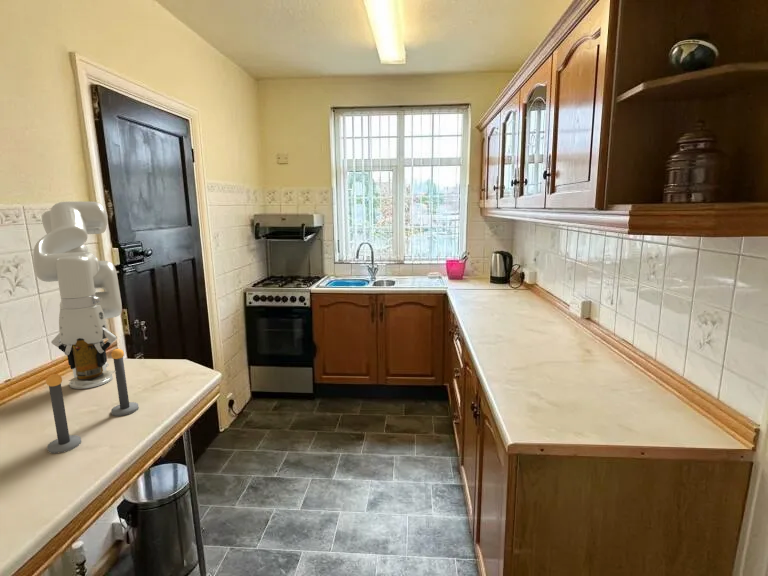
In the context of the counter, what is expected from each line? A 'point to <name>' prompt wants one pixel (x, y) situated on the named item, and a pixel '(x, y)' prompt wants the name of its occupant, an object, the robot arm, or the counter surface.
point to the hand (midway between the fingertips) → (88, 365)
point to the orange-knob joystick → (60, 418)
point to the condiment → (87, 363)
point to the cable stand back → (122, 387)
